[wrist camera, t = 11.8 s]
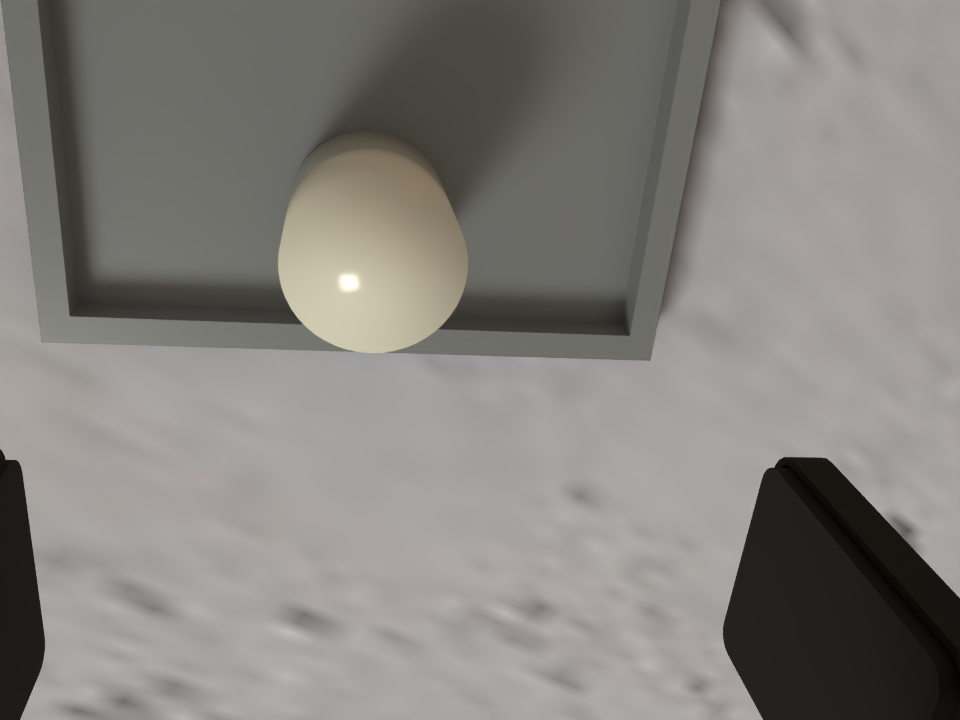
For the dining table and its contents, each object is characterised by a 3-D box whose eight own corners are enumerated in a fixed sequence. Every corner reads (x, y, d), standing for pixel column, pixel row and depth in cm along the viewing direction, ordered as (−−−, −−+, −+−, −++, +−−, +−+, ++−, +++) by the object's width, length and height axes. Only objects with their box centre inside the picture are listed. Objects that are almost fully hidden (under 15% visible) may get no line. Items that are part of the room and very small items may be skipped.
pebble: (290, 124, 24) (278, 167, 19) (451, 136, 25) (476, 180, 20) (288, 278, 26) (277, 350, 21) (439, 285, 26) (459, 355, 22)
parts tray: (-15, -341, 19) (-42, -361, 18) (741, -228, 22) (767, -238, 21) (57, 321, 26) (41, 342, 24) (635, 340, 29) (650, 360, 27)
